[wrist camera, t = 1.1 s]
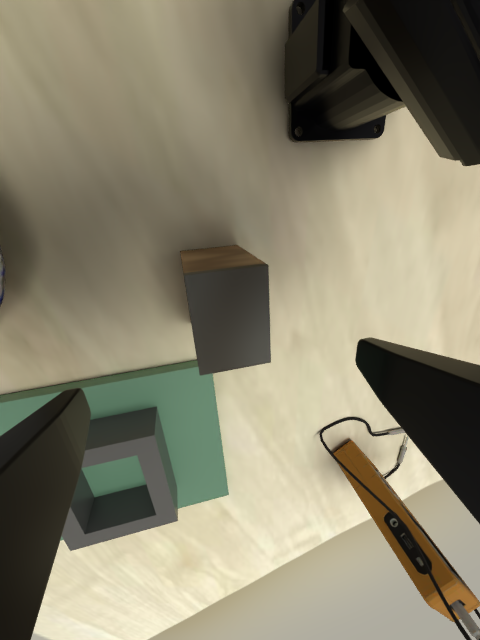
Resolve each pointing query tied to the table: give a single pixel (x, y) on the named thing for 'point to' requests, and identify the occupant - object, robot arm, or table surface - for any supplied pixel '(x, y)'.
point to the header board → (137, 449)
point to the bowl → (2, 277)
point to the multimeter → (407, 535)
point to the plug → (227, 307)
